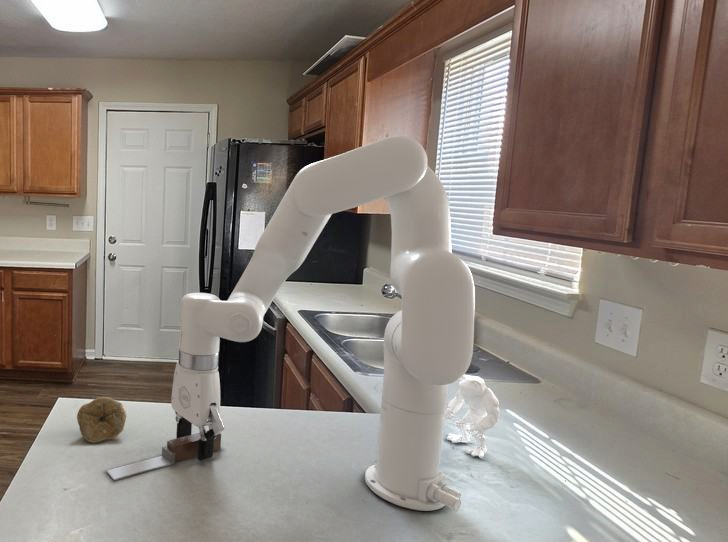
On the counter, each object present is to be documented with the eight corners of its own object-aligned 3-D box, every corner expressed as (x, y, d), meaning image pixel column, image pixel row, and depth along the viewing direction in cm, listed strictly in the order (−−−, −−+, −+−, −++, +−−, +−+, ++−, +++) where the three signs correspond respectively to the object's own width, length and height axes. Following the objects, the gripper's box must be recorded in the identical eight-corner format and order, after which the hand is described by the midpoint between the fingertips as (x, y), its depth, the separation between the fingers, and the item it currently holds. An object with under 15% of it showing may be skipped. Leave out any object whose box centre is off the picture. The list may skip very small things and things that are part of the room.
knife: (211, 443, 99) (212, 428, 99) (221, 450, 97) (222, 434, 96) (106, 471, 88) (106, 454, 88) (114, 481, 85) (115, 463, 85)
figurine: (505, 461, 96) (513, 387, 95) (473, 462, 95) (482, 387, 94) (463, 434, 107) (470, 367, 105) (434, 435, 106) (441, 367, 105)
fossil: (71, 405, 101) (117, 389, 105) (71, 414, 104) (114, 398, 108) (86, 447, 96) (133, 429, 100) (85, 455, 99) (131, 436, 103)
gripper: (157, 348, 99) (154, 434, 101) (210, 377, 84) (205, 477, 86) (188, 344, 103) (184, 426, 105) (244, 371, 88) (238, 467, 90)
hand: (194, 448), depth 95 cm, fingers open, 6 cm apart
